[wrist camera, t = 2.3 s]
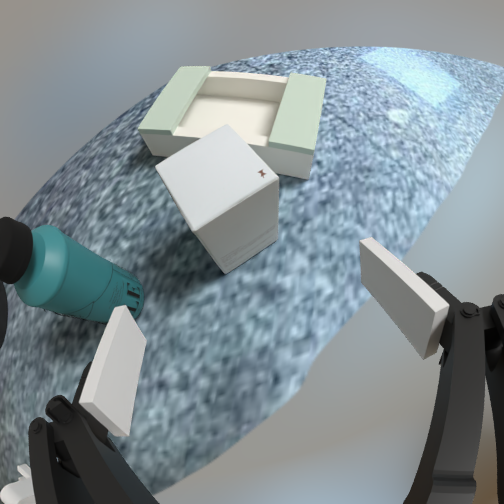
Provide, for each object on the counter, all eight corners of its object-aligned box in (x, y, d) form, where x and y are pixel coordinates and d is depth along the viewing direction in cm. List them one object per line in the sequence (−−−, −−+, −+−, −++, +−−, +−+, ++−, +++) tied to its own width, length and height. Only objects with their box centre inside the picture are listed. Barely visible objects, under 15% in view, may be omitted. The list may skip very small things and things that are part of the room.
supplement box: (243, 193, 34) (229, 120, 22) (279, 240, 31) (283, 177, 19) (191, 226, 33) (152, 164, 21) (223, 277, 30) (192, 233, 18)
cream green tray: (152, 155, 37) (137, 128, 31) (188, 93, 41) (180, 66, 35) (308, 179, 34) (314, 149, 28) (321, 108, 38) (326, 78, 32)
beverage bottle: (106, 276, 31) (-18, 208, 12) (152, 271, 31) (33, 183, 12) (106, 329, 29) (-33, 296, 10) (154, 327, 29) (14, 293, 10)
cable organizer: (66, 514, 19) (31, 534, 10) (25, 481, 21) (-11, 492, 11) (65, 497, 21) (27, 516, 11) (24, 462, 22) (-15, 472, 13)
